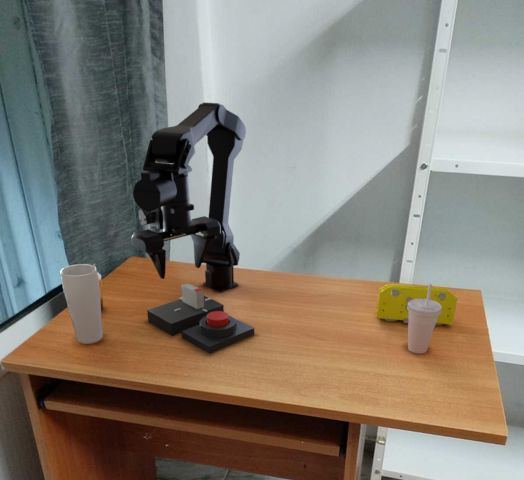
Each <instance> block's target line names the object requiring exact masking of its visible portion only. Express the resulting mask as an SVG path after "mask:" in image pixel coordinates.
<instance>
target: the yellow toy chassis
mask: <svg viewBox="0 0 524 480" xmlns="http://www.w3.org/2000/svg"><path fill="white" fill-rule="evenodd" d="M428 288H429V286H423V285H421V286H420V285H419V286H418V285H408V284H397V283H387V284H386V285H383V286H382V287H380V288H379V289H378V296H377V306H376V310H377V313H376V319H384V320H385V321H387V322H397V321H403V323H404V324H408V320H409V310H408V309H407V306H408V302H409V301H411V300H413V299H427V294H428ZM430 300H433V301H435V302H437V303H439V304H440V305H441V306H442V309H441V313H440V314H439V315H438V319H437V321H436V324H435V326H442V325H453V324H454V323H453V322H454V318H455V314H456V308H457V305H458V304H457V303H458V297H457V296H456V295H454V293H452V292H451V291H450V290H449V289H448V288H446V287H436V286H435V287H434V286H432V289H431V295H430Z"/></svg>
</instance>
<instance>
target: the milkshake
mask: <svg viewBox="0 0 524 480" xmlns="http://www.w3.org/2000/svg"><path fill="white" fill-rule="evenodd" d="M93 266H95V267H96V263H93ZM97 274H98V279H99V286H100V301H101V313H102V312H103V311H104V299H103V287H102V286H103V282H102V281H103V280H102V274H101V273H99V272H98V271H97Z"/></svg>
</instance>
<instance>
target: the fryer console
mask: <svg viewBox="0 0 524 480" xmlns="http://www.w3.org/2000/svg"><path fill="white" fill-rule="evenodd" d="M203 297H204V307H203V308H200V309H196V308H194V307H192V306H190V305H188V304H186V303H184V302H183V301H182V296H181V297H179V299H176V300H173V301H170V302H167V303H164V304H162V305H158V306H155V307H153V308H152V307H151V308H149V309H147V310H146V312H147V323H148V324H150V325H151V326H153V327H155V328H157V329H159V330H161V331H162V332H164V333H166V334H167V335H169V336H171V337H175V336H177V335H180V334H182V331H183V330H186V329H189V328H191V327H194V326H197V325H199V324H200V320H201V319H202V318H203V317H206V316H207V315H208V314H209V313H210V312H214V311H223V312H225V311H224V310H225V309H224V304H223V303H221V302H218V301H216V300H215V299H213V298H211V297H208V296H206V295H204V294H203Z"/></svg>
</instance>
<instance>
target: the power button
mask: <svg viewBox="0 0 524 480" xmlns="http://www.w3.org/2000/svg"><path fill="white" fill-rule="evenodd" d="M229 316H230V315H229V313H228V312H225V311H224V312H223V311H214V312H210V313H209V314H208V315H207V324H208V325H209V326H211V327H224V326H226V325H228V324H229Z"/></svg>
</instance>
